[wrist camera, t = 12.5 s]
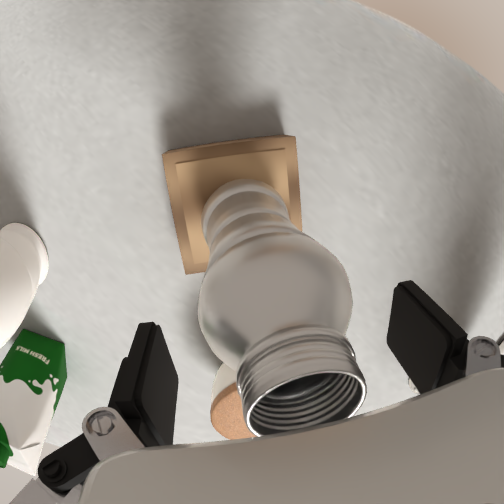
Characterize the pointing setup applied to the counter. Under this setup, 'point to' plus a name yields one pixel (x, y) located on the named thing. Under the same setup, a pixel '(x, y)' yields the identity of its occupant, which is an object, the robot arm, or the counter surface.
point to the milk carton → (29, 397)
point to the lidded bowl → (227, 406)
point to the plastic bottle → (277, 312)
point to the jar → (19, 275)
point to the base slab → (219, 173)
